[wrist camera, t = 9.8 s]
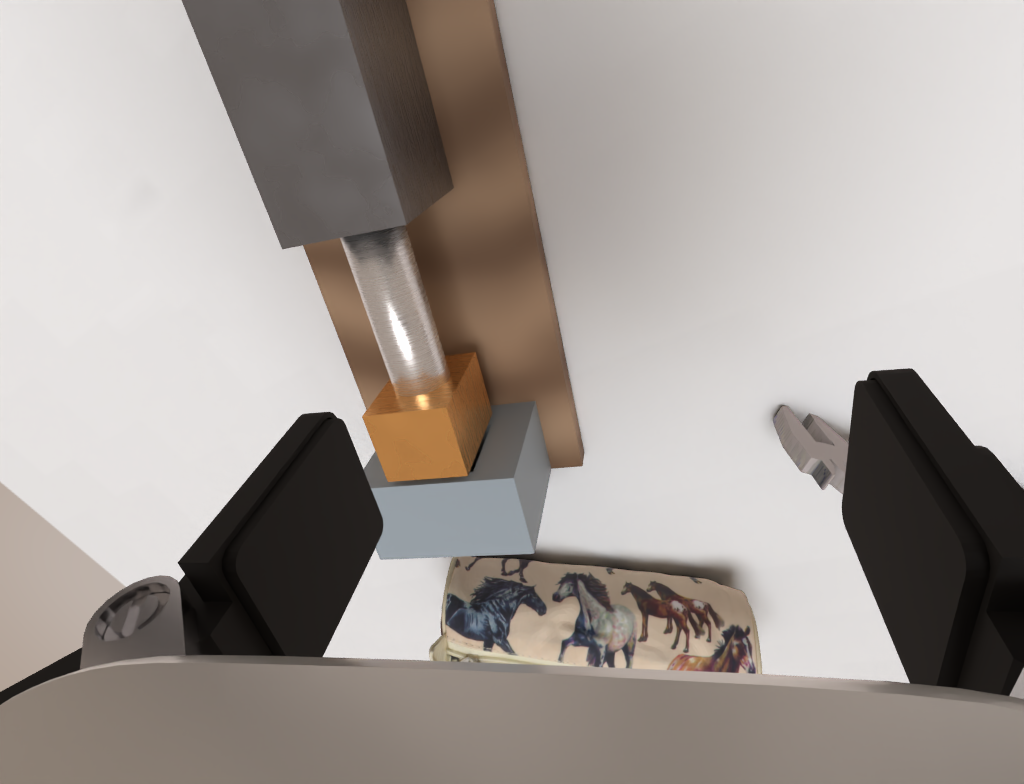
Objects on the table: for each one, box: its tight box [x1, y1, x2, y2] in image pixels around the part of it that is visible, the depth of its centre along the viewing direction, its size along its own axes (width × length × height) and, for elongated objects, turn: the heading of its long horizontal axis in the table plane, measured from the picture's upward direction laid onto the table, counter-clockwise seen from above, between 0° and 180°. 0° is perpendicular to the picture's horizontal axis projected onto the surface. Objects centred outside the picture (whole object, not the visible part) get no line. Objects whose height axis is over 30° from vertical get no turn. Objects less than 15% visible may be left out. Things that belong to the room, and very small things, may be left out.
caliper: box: [773, 406, 849, 494], centre depth 32 cm, size 21×1×6 cm, turn 74°
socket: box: [364, 401, 551, 560], centre depth 35 cm, size 5×9×8 cm, turn 103°
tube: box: [340, 225, 492, 482], centre depth 30 cm, size 18×4×6 cm, turn 13°
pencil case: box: [429, 556, 762, 674], centre depth 40 cm, size 22×8×10 cm, turn 91°
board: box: [303, 0, 584, 468], centre depth 33 cm, size 30×13×2 cm, turn 13°
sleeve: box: [182, 0, 454, 249], centre depth 25 cm, size 12×6×7 cm, turn 13°
